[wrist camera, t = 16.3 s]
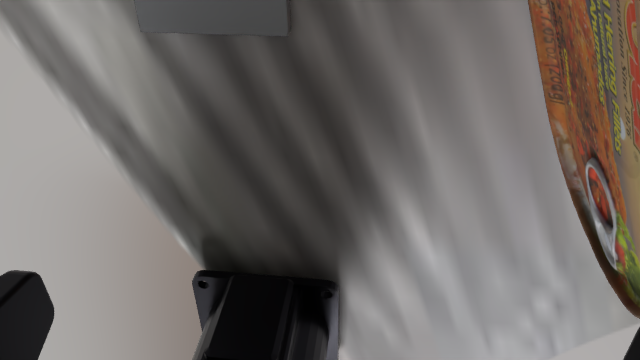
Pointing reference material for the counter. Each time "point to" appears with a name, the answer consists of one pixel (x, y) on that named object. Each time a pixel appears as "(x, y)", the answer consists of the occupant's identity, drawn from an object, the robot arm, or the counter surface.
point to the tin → (597, 123)
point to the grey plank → (215, 17)
